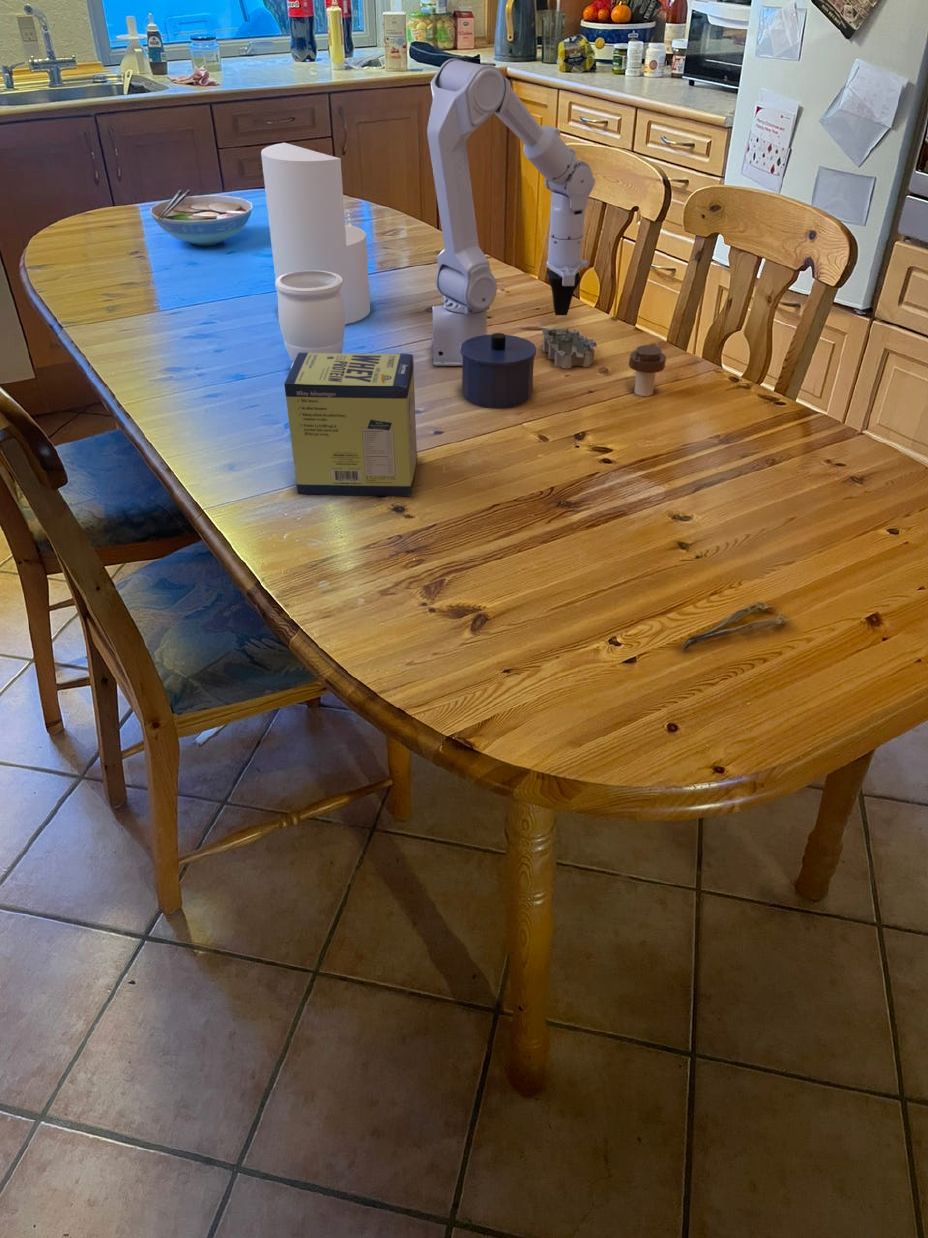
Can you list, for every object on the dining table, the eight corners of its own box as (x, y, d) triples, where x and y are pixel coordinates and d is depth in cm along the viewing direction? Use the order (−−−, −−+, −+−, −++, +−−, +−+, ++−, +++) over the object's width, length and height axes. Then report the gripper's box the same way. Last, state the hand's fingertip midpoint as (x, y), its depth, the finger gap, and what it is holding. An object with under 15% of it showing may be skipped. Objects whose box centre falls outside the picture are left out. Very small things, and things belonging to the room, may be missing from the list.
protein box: (307, 457, 133) (296, 350, 124) (418, 459, 133) (415, 352, 124) (294, 495, 125) (281, 383, 116) (412, 497, 125) (409, 385, 115)
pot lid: (461, 370, 142) (461, 350, 141) (458, 341, 152) (458, 321, 150) (539, 369, 143) (540, 349, 141) (532, 340, 152) (533, 321, 150)
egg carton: (597, 367, 160) (599, 344, 157) (553, 370, 159) (555, 346, 156) (580, 344, 168) (582, 321, 166) (538, 346, 167) (540, 323, 165)
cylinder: (312, 333, 172) (297, 165, 155) (262, 308, 182) (242, 148, 165) (388, 312, 181) (381, 151, 164) (336, 289, 191) (324, 136, 174)
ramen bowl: (245, 257, 208) (240, 218, 203) (141, 257, 208) (134, 217, 203) (266, 226, 228) (262, 190, 223) (171, 226, 228) (164, 189, 223)
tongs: (674, 644, 100) (677, 629, 99) (760, 610, 106) (764, 595, 105) (702, 666, 97) (706, 650, 96) (789, 629, 103) (793, 614, 102)
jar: (358, 363, 161) (352, 273, 152) (332, 386, 153) (324, 293, 144) (302, 355, 164) (293, 266, 155) (273, 377, 156) (262, 285, 147)
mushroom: (629, 399, 150) (634, 356, 145) (623, 385, 154) (627, 343, 150) (664, 399, 150) (670, 356, 146) (657, 385, 154) (663, 343, 150)
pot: (463, 408, 147) (463, 365, 142) (461, 380, 155) (461, 338, 151) (534, 407, 147) (536, 364, 143) (528, 379, 156) (530, 337, 152)
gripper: (595, 247, 157) (588, 328, 165) (583, 223, 168) (577, 300, 176) (552, 247, 156) (548, 328, 165) (543, 223, 168) (539, 300, 176)
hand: (560, 313), depth 170 cm, fingers closed
